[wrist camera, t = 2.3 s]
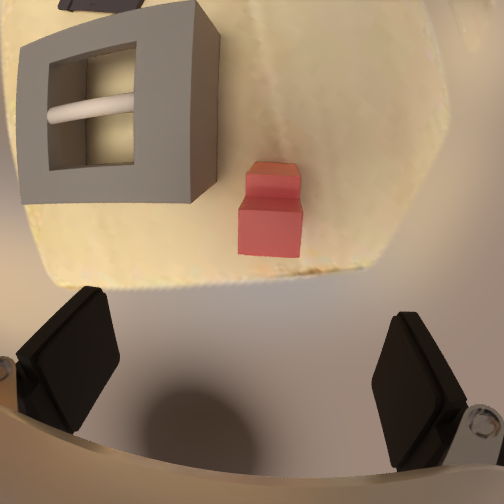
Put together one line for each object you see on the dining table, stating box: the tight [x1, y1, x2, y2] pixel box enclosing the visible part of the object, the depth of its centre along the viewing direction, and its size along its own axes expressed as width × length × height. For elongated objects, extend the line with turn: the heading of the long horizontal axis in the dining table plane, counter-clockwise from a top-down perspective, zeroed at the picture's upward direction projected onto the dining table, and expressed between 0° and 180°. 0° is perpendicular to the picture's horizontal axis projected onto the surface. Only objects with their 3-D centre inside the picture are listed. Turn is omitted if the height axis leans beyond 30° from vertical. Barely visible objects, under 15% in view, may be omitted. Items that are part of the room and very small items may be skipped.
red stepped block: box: [238, 162, 303, 258], centre depth 26 cm, size 4×6×13 cm, turn 179°
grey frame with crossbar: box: [16, 0, 220, 205], centre depth 25 cm, size 18×16×10 cm
